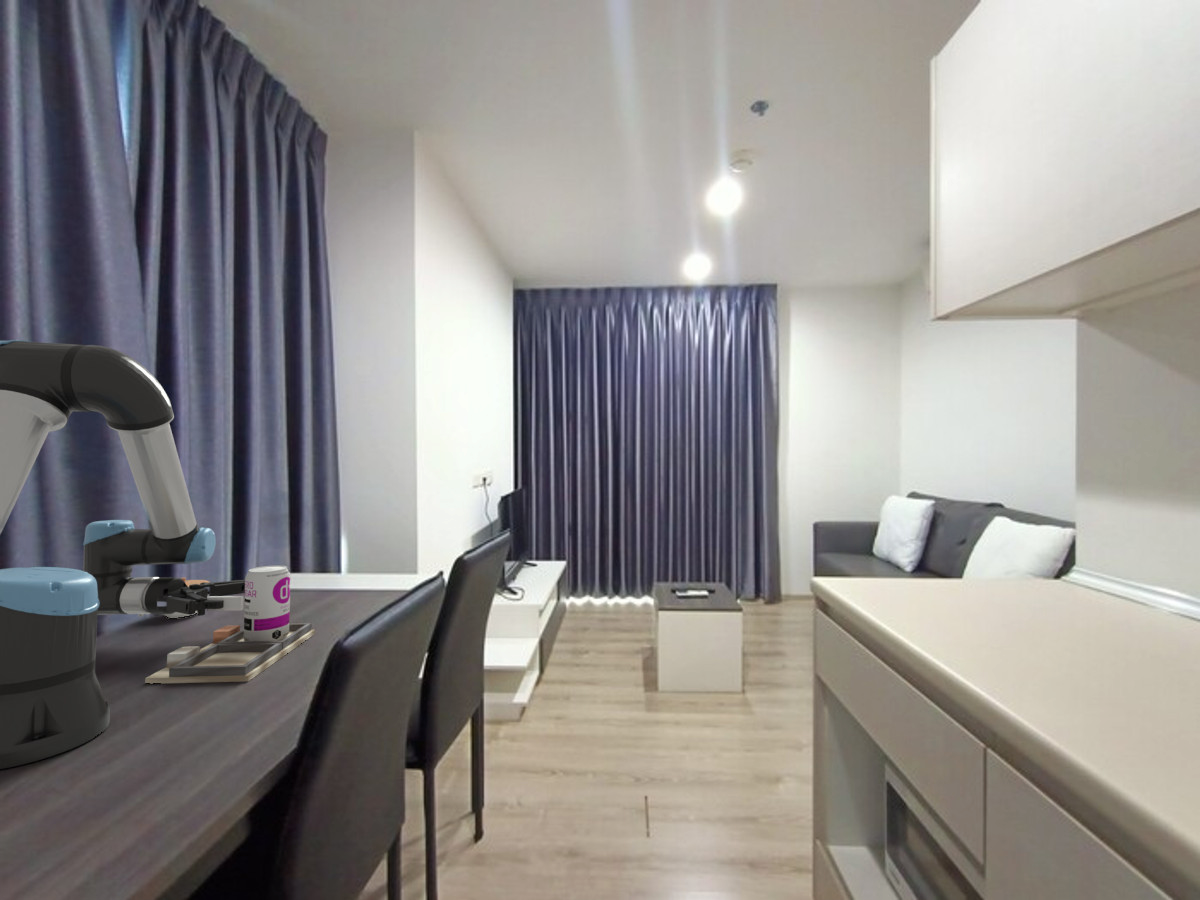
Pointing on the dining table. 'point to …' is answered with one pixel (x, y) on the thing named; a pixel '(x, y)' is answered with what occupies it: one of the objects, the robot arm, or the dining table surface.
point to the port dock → (228, 657)
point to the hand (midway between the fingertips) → (261, 594)
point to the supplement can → (267, 604)
